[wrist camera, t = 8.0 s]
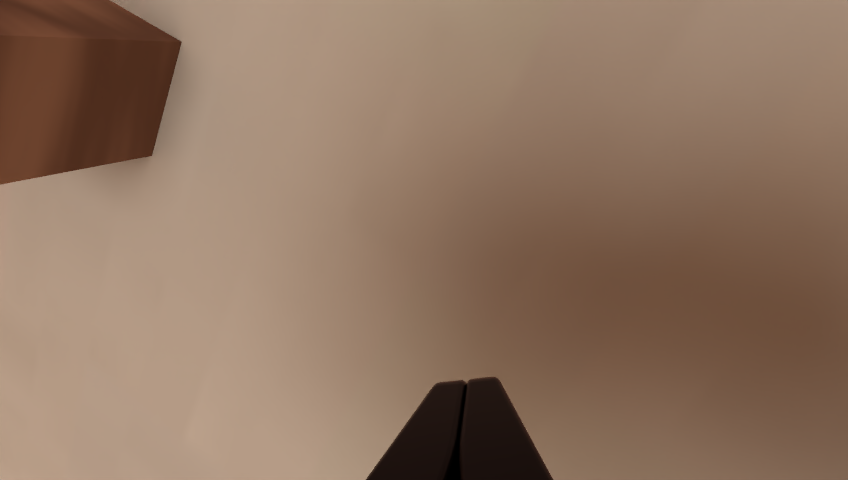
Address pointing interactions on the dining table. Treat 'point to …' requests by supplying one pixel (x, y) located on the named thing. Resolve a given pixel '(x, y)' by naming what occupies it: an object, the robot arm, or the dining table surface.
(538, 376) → the dining table surface
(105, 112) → the brown patterned block
